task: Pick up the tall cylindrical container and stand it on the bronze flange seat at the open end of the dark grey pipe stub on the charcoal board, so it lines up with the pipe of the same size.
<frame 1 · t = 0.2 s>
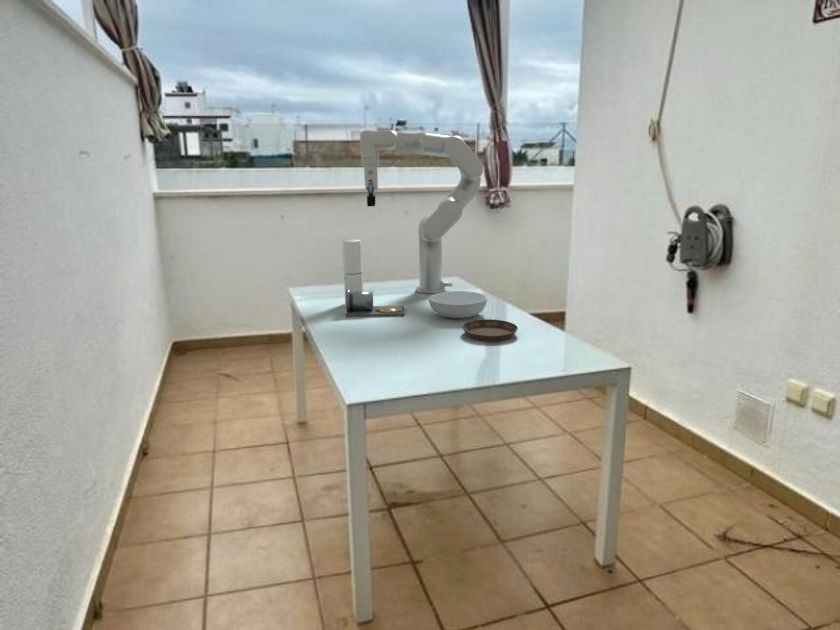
hand: (371, 205, 244), 37 cm above the table, tool pointing down, fingers open, 9 cm apart
pipe fitting board: (375, 312, 219), on the table
serving bowl: (457, 316, 214), on the table
plant saucer: (489, 336, 190), on the table
cylindrical container: (354, 304, 232), on the table
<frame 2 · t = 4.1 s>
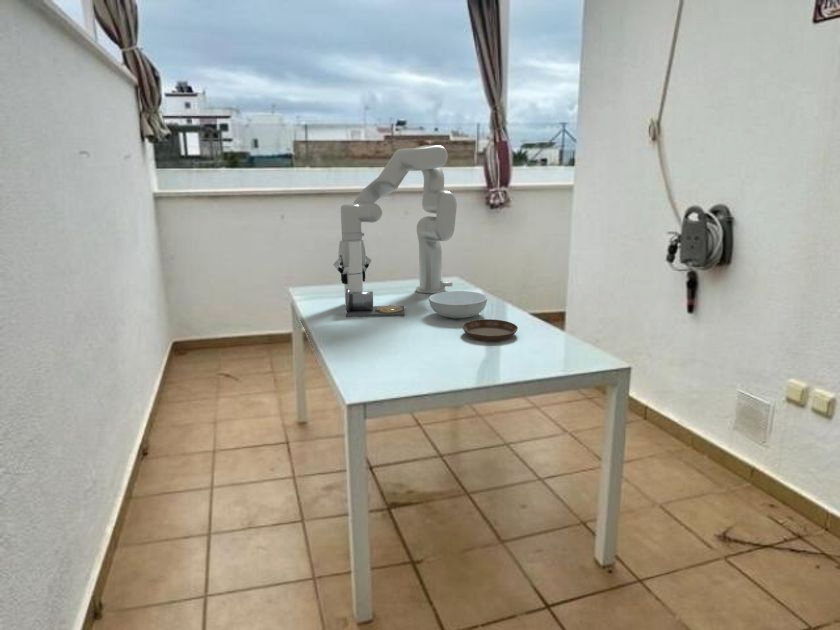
hand: (353, 282, 230), 9 cm above the table, tool pointing down, fingers closed on cylindrical container, 7 cm apart
cylindrical container: (354, 304, 232), on the table, touching gripper
everything else where it was.
when the fingers open (11 cm above the table, at t = 10.4 s): cylindrical container stays where it is, resting on pipe fitting board.
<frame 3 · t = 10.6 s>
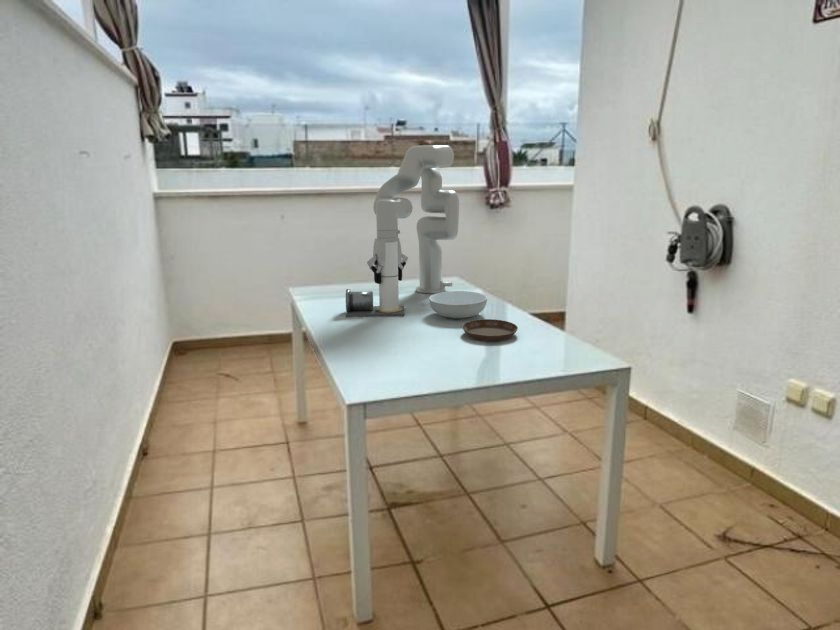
hand: (388, 281, 216), 12 cm above the table, tool pointing down, fingers open, 8 cm apart
cylindrical container: (389, 309, 219), point 1 cm above the table, touching pipe fitting board
everything else where it was.
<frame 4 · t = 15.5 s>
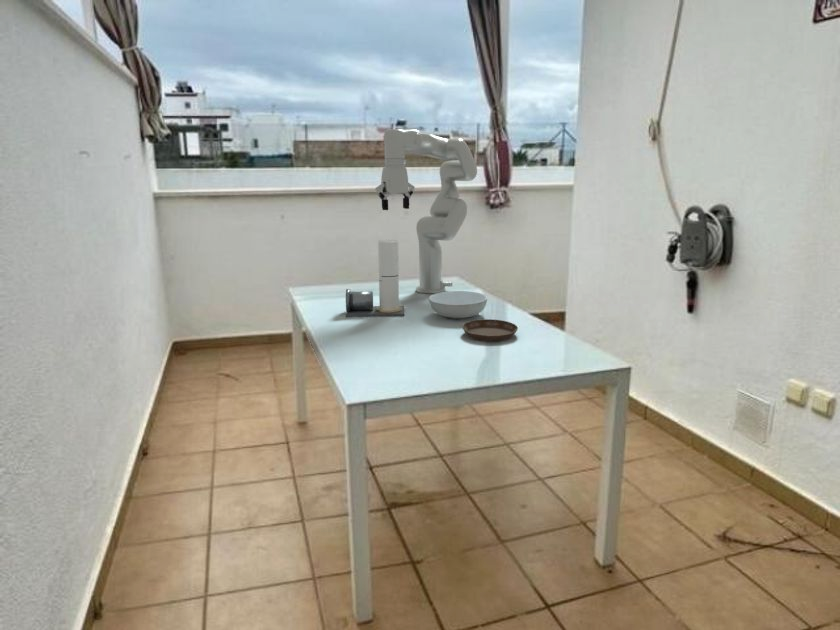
hand: (395, 209, 227), 36 cm above the table, tool pointing down, fingers open, 9 cm apart
nothing on the table moved.
at the end: cylindrical container 0.2 cm from the target spot on the pipe fitting board, point 1.2 cm above the pipe fitting board's base; cylindrical container tilted 1°; the gripper is holding nothing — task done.
